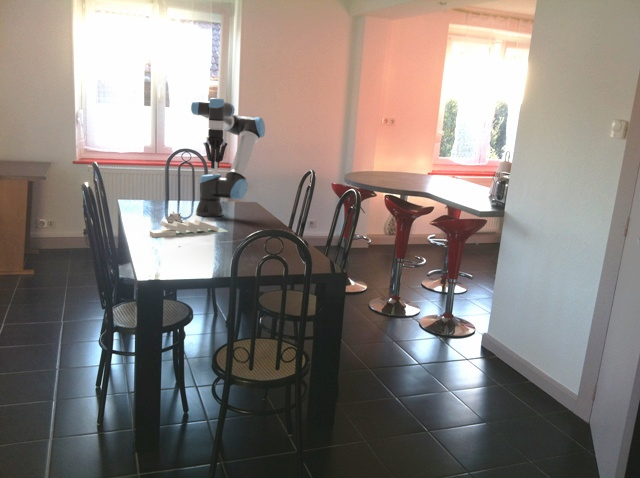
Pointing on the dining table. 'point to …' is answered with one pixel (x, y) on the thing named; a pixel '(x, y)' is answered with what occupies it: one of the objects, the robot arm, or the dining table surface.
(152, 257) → the dining table surface
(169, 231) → the domino
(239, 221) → the dining table surface
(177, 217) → the game die
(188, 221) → the domino
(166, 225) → the domino
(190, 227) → the domino
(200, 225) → the domino
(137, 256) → the dining table surface
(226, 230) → the board
